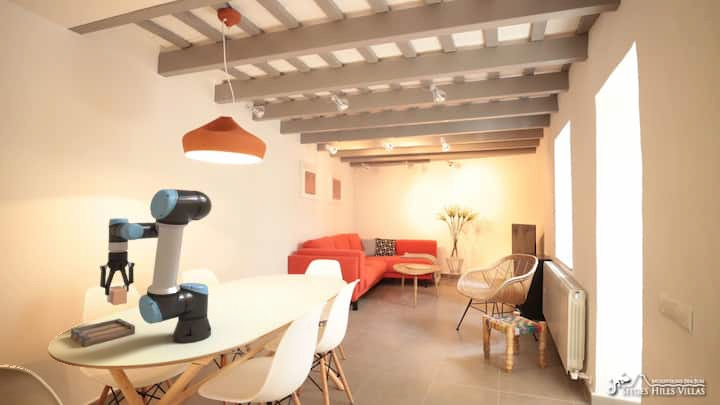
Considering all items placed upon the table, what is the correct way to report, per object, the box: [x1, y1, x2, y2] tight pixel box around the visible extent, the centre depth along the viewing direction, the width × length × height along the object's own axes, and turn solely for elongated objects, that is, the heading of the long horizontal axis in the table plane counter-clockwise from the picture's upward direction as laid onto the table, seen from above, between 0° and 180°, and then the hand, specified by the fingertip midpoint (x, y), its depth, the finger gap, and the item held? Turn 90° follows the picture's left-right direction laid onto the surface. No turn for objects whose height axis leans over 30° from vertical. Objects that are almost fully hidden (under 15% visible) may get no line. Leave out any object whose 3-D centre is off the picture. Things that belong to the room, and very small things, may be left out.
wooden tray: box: [70, 318, 136, 348], centre depth 148 cm, size 16×18×4 cm
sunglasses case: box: [109, 285, 128, 306], centre depth 160 cm, size 13×5×6 cm, turn 47°
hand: (116, 300), depth 159 cm, fingers closed on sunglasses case, 5 cm apart
